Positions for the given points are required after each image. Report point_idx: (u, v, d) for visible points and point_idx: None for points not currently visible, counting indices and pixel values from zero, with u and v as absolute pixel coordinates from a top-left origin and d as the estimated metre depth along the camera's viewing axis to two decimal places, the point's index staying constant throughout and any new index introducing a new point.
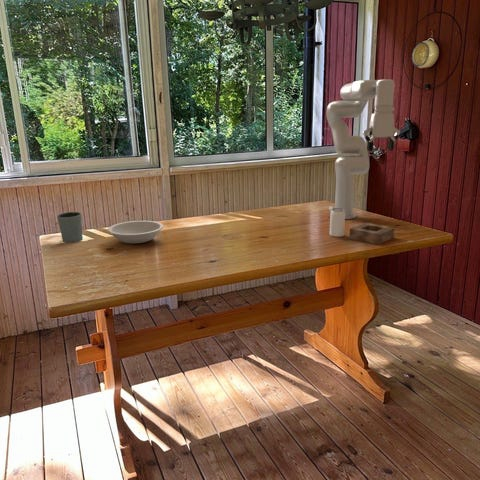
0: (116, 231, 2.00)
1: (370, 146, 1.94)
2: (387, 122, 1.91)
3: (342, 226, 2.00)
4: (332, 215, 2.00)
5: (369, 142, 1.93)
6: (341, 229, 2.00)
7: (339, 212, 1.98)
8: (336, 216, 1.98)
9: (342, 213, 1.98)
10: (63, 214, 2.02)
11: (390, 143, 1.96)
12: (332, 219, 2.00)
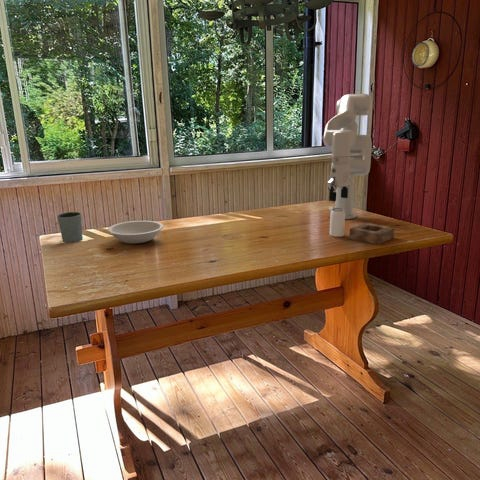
0: (116, 231, 2.00)
1: None
2: None
3: (342, 226, 2.00)
4: (332, 215, 2.00)
5: None
6: (341, 229, 2.00)
7: (339, 212, 1.98)
8: (336, 216, 1.98)
9: (342, 213, 1.98)
10: (63, 214, 2.02)
11: None
12: (332, 219, 2.00)
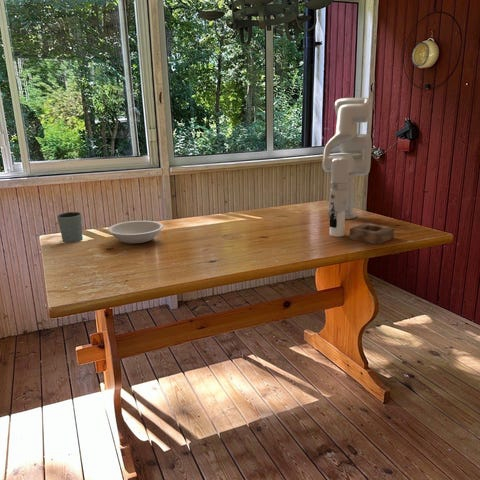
0: (116, 231, 2.00)
1: None
2: None
3: (342, 226, 2.00)
4: None
5: None
6: (341, 229, 2.00)
7: None
8: (336, 216, 1.98)
9: (342, 213, 1.98)
10: (63, 214, 2.02)
11: None
12: None
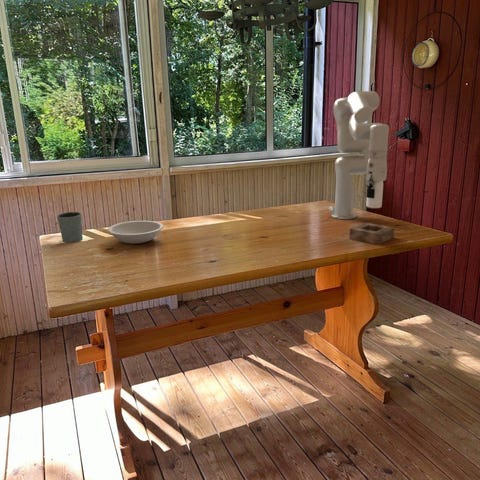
0: (116, 231, 2.00)
1: None
2: None
3: (380, 197, 1.91)
4: None
5: None
6: (379, 199, 1.91)
7: None
8: (374, 186, 1.89)
9: (380, 183, 1.89)
10: (63, 214, 2.02)
11: None
12: None
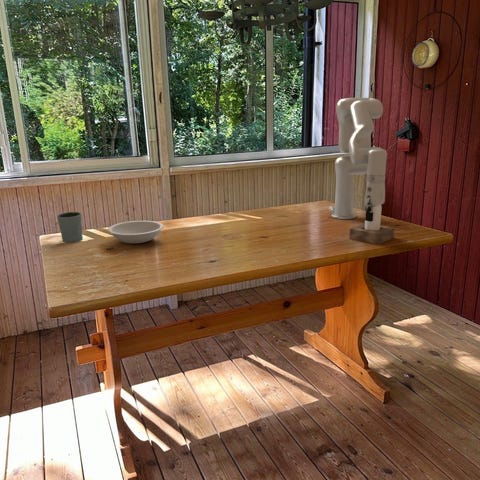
0: (116, 231, 2.00)
1: None
2: None
3: (378, 220, 1.94)
4: None
5: None
6: (378, 223, 1.94)
7: None
8: None
9: (379, 206, 1.92)
10: (63, 214, 2.02)
11: None
12: None
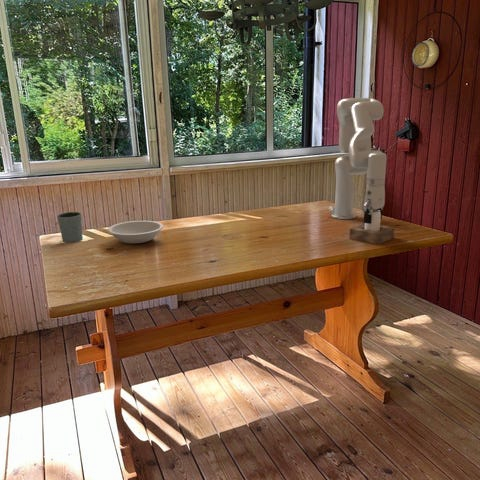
0: (116, 231, 2.00)
1: None
2: None
3: (378, 227, 1.95)
4: None
5: None
6: (377, 230, 1.95)
7: (375, 213, 1.93)
8: (372, 217, 1.93)
9: (378, 214, 1.93)
10: (63, 214, 2.02)
11: None
12: None
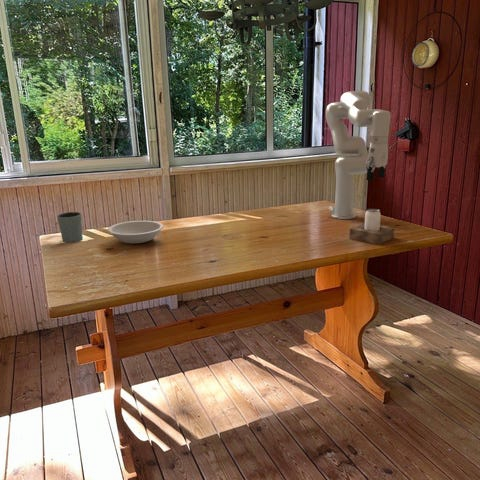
0: (116, 231, 2.00)
1: None
2: None
3: (378, 227, 1.95)
4: (367, 216, 1.95)
5: None
6: (377, 230, 1.95)
7: (375, 213, 1.93)
8: (372, 217, 1.93)
9: (378, 214, 1.93)
10: (63, 214, 2.02)
11: None
12: (367, 220, 1.95)
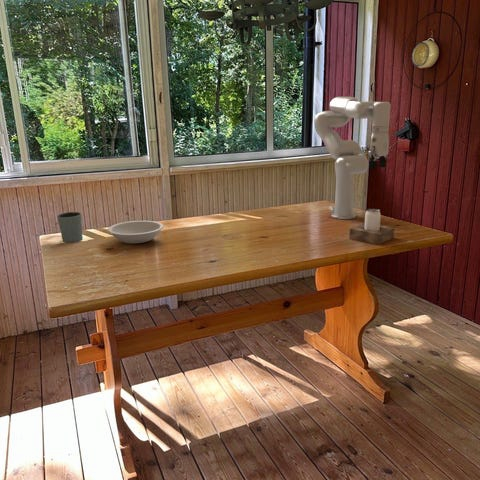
0: (116, 231, 2.00)
1: None
2: None
3: (378, 227, 1.95)
4: (367, 216, 1.95)
5: None
6: (377, 230, 1.95)
7: (375, 213, 1.93)
8: (372, 217, 1.93)
9: (378, 214, 1.93)
10: (63, 214, 2.02)
11: None
12: (367, 220, 1.95)
